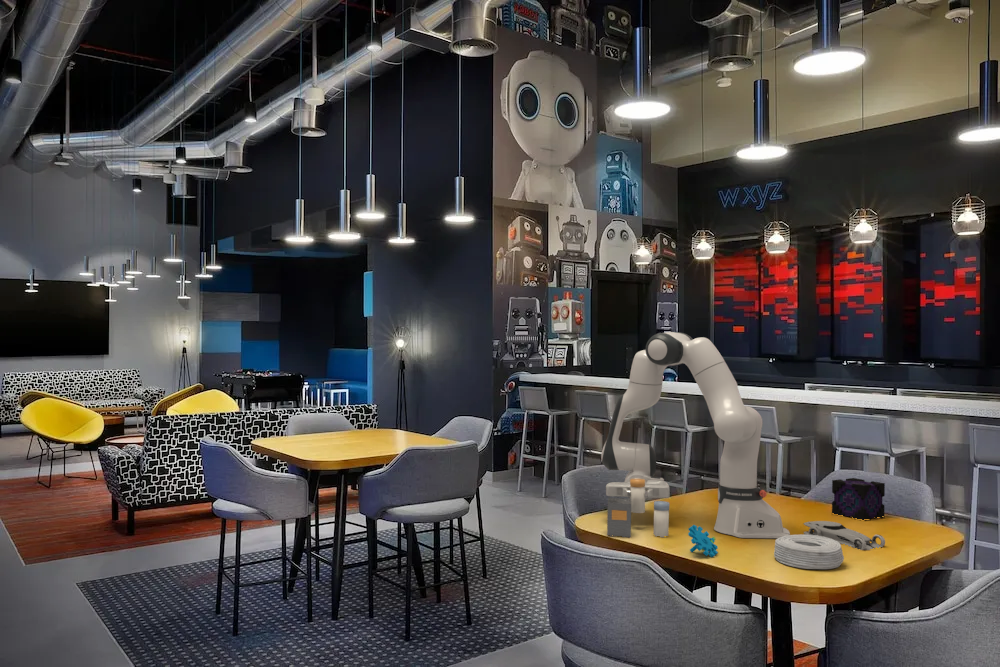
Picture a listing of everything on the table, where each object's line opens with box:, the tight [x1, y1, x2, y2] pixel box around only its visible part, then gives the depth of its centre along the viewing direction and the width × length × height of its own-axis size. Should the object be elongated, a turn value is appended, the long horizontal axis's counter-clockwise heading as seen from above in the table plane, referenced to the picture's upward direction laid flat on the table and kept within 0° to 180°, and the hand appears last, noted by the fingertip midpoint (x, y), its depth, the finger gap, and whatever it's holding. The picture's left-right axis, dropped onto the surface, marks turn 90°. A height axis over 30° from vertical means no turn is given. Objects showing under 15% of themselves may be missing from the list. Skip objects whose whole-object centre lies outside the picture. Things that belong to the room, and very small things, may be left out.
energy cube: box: [831, 477, 886, 520], centre depth 271 cm, size 12×12×12 cm
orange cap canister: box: [630, 479, 646, 514], centre depth 245 cm, size 5×5×10 cm
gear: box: [687, 524, 719, 558], centre depth 216 cm, size 11×6×10 cm
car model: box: [803, 520, 886, 551], centre depth 235 cm, size 11×24×5 cm, turn 30°
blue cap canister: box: [652, 500, 670, 538], centre depth 236 cm, size 5×5×10 cm
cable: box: [773, 534, 845, 570], centre depth 209 cm, size 18×18×6 cm
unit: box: [606, 497, 632, 538], centre depth 237 cm, size 7×9×10 cm
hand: (637, 494), depth 244 cm, fingers closed on orange cap canister, 4 cm apart
